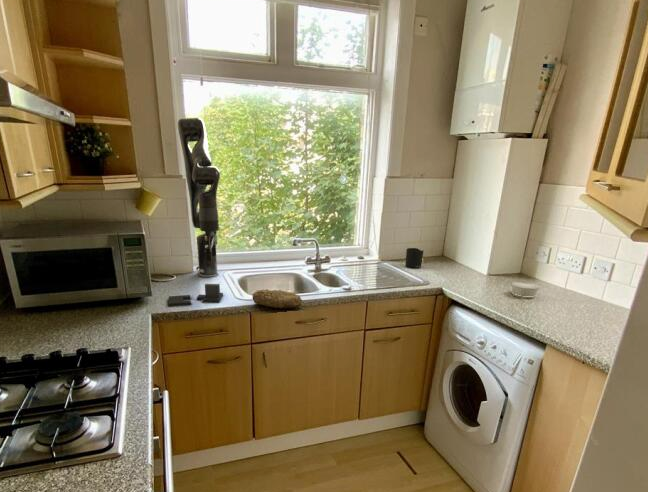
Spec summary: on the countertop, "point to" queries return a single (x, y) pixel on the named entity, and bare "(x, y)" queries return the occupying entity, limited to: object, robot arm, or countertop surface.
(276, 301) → the brown rounded lump
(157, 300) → the countertop surface
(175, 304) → the base pad
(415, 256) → the pen holder
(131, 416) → the countertop surface
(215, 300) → the joining pad
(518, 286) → the ramekin
